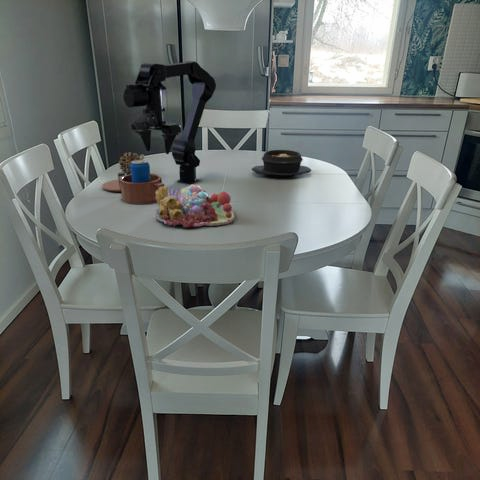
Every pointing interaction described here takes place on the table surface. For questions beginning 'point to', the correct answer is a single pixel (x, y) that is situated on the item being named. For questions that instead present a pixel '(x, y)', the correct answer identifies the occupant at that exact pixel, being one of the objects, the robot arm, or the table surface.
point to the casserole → (281, 164)
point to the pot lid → (113, 184)
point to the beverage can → (140, 171)
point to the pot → (139, 189)
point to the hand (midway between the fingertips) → (157, 152)
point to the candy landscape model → (193, 207)
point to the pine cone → (128, 161)
